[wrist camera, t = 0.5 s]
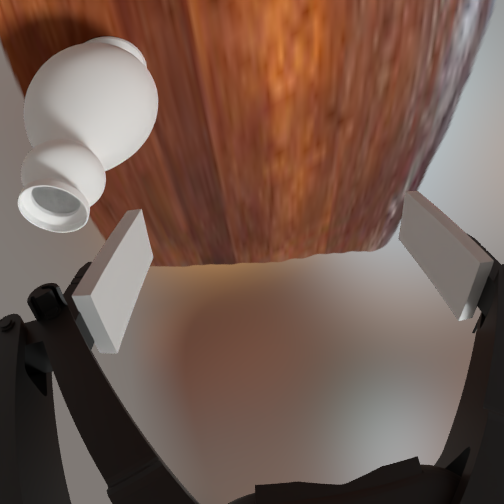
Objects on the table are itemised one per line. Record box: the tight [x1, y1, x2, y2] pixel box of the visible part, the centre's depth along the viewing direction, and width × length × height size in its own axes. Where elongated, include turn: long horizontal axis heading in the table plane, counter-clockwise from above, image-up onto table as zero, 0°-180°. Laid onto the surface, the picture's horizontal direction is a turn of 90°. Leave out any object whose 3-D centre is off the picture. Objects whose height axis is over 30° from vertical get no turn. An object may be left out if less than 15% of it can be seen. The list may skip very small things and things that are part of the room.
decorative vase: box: [18, 36, 158, 233], centre depth 31 cm, size 18×18×25 cm
